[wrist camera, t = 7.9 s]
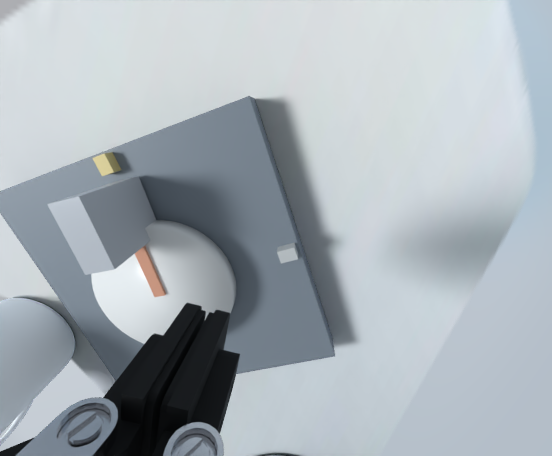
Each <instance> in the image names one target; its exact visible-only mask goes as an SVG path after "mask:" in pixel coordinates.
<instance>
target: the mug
mask: <svg viewBox="0 0 552 456" xmlns="http://www.w3.org/2000/svg"><path fill="white" fill-rule="evenodd" d="M74 350H75V339H74V335H73V332H72V330H71V328H70V326H69V325H68V323H67V322H66V321H65V320H64V319H63V317H62V316H61V315H59V314H58V313H57V312H56V311H54V310H53V309H52V308H50V307H48V306H47V305H45V304H43V303H40V302H38V301H34V300H31V299H26V298H10V299H5V300H2V301H0V434H1V433H2V432H3V431H4V430H5V429H6V428H7V427H8V426H9V425H10V424H11V423H12V422H13V423H12V425H11V427H10V428H9V429H8V431H7V432H6V433H5V434H4V435H3V436H2V437H1V438H0V446H1V444H2V443H3V442H4V441H5V440H6V439H7V438H8V437H9V435H10V434H11V433H12V432H13V431H14V429H15V428H16V427H17V426H18V424H19V423H20V422H21V420H22V419H23V418H24V416H25V415H26V413H27V411H28V410H29V408H30V406H31V404H32V402H33V399H35V398H36V396H37V395H38V394H39V393H40V392H41V391H42V390H43V389H44V388H45V387H46V386H47V385H48V384H49V383H50V382H51V381H52V380H53V379H54V378H55V377H56V376H57V374H59V373H60V371H61V370H62V369H63V368H64V367H65V366H66V365H67V364H68V362H69V361H70V359H71V358H72V356H73V353H74Z"/></svg>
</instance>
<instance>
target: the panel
mask: <svg viewBox="0 0 552 456" xmlns="http://www.w3.org/2000/svg"><path fill="white" fill-rule="evenodd" d="M136 176H139V179H140V181H141V184H142V186H143V189H144V191H145V193H146V196H147V198H148V201H149V203H150V206H151V208H152V210H153V213H154V215H155V218H156V220H167V221H173V222H177V223H181V224H184V225H187V226H190V227H192V228H194V229H196V230H198V231H199V232H201V233H202V234H204V235H205V236H207V237H208V238H209V239H211V240H212V241H213V242H214V243H215V244H216V245H217V246H218V247H219V248H220V249H221V250H222V252H223V253H224V254H225V256H226V257H227V259H228V261H229V263H230V264H231V267H232V269H233V272H234V275H235V279H236V298H235V303H234V305H233V308H232V311H231V313H230V319H229V324H228V329H227V335H226V340H225V345H224V350H226V351H230V352H234V353H238V354H240V358H239V363H238V367H237V372H236V374H239V373H245V372H250V371H256V370H261V369H267V368H272V367H278V366H283V365H289V364H294V363H300V362H305V361H311V360H317V359H322V358H328V357H333V356H335V353H334V346H333V339H332V335H331V332H330V329H329V326H328V323H327V320H326V317H325V314H324V311H323V308H322V304H321V301H320V298H319V295H318V292H317V289H316V286H315V283H314V280H313V277H312V274H311V271H310V268H309V265H308V261H307V258H306V255H305V252H304V249H303V246H302V243H301V240H300V237H299V234H298V231H297V228H296V225H295V222H294V218H293V215H292V212H291V209H290V206H289V203H288V200H287V197H286V194H285V191H284V188H283V185H282V182H281V179H280V175H279V172H278V169H277V166H276V163H275V160H274V157H273V154H272V151H271V148H270V145H269V142H268V139H267V135H266V132H265V129H264V126H263V123H262V120H261V117H260V114H259V111H258V108H257V105H256V102H255V99H254V98H252V97H250V96H248V97H245V98H243V99H240V100H238V101H235V102H232V103H230V104H227V105H224V106H222V107H219V108H217V109H214V110H211V111H209V112H206V113H204V114H201V115H198V116H196V117H193V118H190V119H188V120H185V121H183V122H180V123H177V124H175V125H172V126H170V127H167V128H164V129H162V130H159V131H157V132H154V133H151V134H149V135H146V136H143V137H141V138H138V139H136V140H133V141H130V142H128V143H125V144H123V145H120V146H117V147H115V148H112V149H109V150H107V151H104V152H102V153H99V154H96V155H94V156H91V157H89V158H86V159H83V160H81V161H78V162H75V163H73V164H70V165H68V166H65V167H62V168H60V169H57V170H55V171H52V172H49V173H47V174H44V175H41V176H39V177H36V178H34V179H31V180H28V181H26V182H23V183H21V184H18V185H15V186H13V187H10V188H7V189H5V190H2V191H0V213H1V215H2V216H3V218H4V219H5V221H6V222H7V224H8V225H9V226H10V228H11V229H12V231H13V232H14V234H15V235H16V237H17V238H18V239H19V241H20V242H21V244H22V245H23V247H24V248H25V250H26V251H27V253H28V254H29V255H30V257H31V258H32V260H33V261H34V263H35V264H36V266H37V267H38V268H39V270H40V271H41V273H42V274H43V276H44V277H45V279H46V280H47V282H48V283H49V284H50V286H51V287H52V289H53V290H54V292H55V293H56V295H57V296H58V297H59V299H60V300H61V302H62V303H63V305H64V306H65V308H66V309H67V311H68V312H69V313H70V315H71V316H72V318H73V319H74V321H75V322H76V324H77V325H78V327H79V328H80V329H81V331H82V332H83V334H84V335H85V337H86V338H87V340H88V341H89V342H90V344H91V345H92V347H93V348H94V350H95V351H96V353H97V354H98V356H99V357H100V358H101V360H102V361H103V363H104V364H105V366H106V367H107V369H108V370H109V371H110V373H111V374H112V376H113V377H114V379H115V380H117V379H118V378H119V377H120V375H121V374H122V373H123V371H124V370H125V369H126V367H127V366H128V365H129V364H130V362H131V361H132V360H133V358H134V357H135V356H136V354H137V353H138V352H139V351H140V349H141V348H142V347H143V345H144V344H143V343H141V342H139V341H136V340H135V339H133V338H131V337H129V336H128V335H126V334H125V333H124V332H122V331H121V330H120V329H119V328H117V327H116V326H115V325H114V324H113V323H112V322H111V321H110V320H109V319H108V317H107V316H106V315H105V314H104V312H103V311H102V309H101V307H100V306H99V304H98V302H97V300H96V297H95V294H94V291H93V287H92V278H91V274H88V275H85V274H84V272H83V270H82V268H81V266H80V264H79V262H78V261H77V259H76V257H75V255H74V253H73V251H72V249H71V248H70V246H69V244H68V242H67V240H66V238H65V237H64V235H63V233H62V231H61V229H60V227H59V225H58V224H57V222H56V220H55V218H54V216H53V214H52V212H51V211H50V209H49V207H48V205H47V204H49V203H52V202H55V201H58V200H61V199H64V198H67V197H70V196H73V195H77V194H80V193H83V192H86V191H89V190H92V189H95V188H98V187H101V186H104V185H107V184H110V183H113V182H116V181H120V180H124V179H128V178H132V177H136Z"/></svg>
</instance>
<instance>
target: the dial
mask: <svg viewBox="0 0 552 456" xmlns="http://www.w3.org/2000/svg"><path fill="white" fill-rule="evenodd" d="M47 205H48V207H49V209H50V211H51V212H52V214H53V216H54V218H55V220H56V222H57V224H58V225H59V227H60V229H61V231H62V233H63V235H64V237H65V238H66V240H67V242H68V244H69V246H70V248H71V249H72V251H73V253H74V255H75V257H76V259H77V261H78V262H79V264H80V266H81V268H82V270H83V272H84V274H85V275H88V274H91V278H92V287H93V291H94V294H95V297H96V300H97V302H98V304H99V306H100V307H101V309H102V311H103V312H104V314H105V315H106V316H107V317H108V319H109V320H110V321H111V322H112V323H113V324H114V325H115V326H116V327H117V328H119V329H120V330H121V331H122V332H124V333H125V334H126V335H128V336H129V337H131V338H133V339H135V340H136V341H139V342H141V343H143V344H145V343H146V341H147V340H148V339H149V338H150V336H151V335H152V334H154V333H155V334H159V335H164V334H165V332H166V331H167V329H168V328H169V327H170V325H171V324H172V322H173V321H174V320H175V318H176V317H177V315H178V314H179V313H180V311H181V310H182V308H183V307H184V305H185V304H186V303H191V304H195V305H200V306H202V310H203V311H206V315H205V319H206V317H207V315H208V314H209V312H212V313H214V312H215V310H221V311H225V312H229V313H231V311H232V308H233V305H234V303H235V298H236V279H235V275H234V272H233V269H232V267H231V264H230V263H229V261H228V259H227V257H226V256H225V254H224V253H223V252H222V250H221V249H220V248H219V247H218V246H217V245H216V244H215V243H214V242H213V241H212V240H211V239H209V238H208V237H207V236H205V235H204V234H202V233H201V232H199V231H198V230H196V229H194V228H192V227H190V226H187V225H184V224H181V223H177V222H173V221H167V220H156V218H155V215H154V213H153V210H152V208H151V206H150V203H149V201H148V198H147V196H146V193H145V191H144V189H143V186H142V184H141V181H140V179H139V176H136V177H132V178H128V179H124V180H120V181H116V182H113V183H110V184H107V185H104V186H101V187H98V188H95V189H92V190H89V191H86V192H83V193H80V194H77V195H73V196H70V197H67V198H64V199H61V200H58V201H55V202H52V203H49V204H47Z"/></svg>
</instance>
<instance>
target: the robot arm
mask: <svg viewBox="0 0 552 456" xmlns="http://www.w3.org/2000/svg"><path fill="white" fill-rule="evenodd" d="M205 315H206V311H203V310H202V306H200V305H195V304H191V303H186V304H185V305H184V307H183V308H182V310H181V311H180V313H179V314H178V315H177V317H176V318H175V320H174V321H173V322H172V324H171V325H170V327H169V328H168V329H167V331H166V332H165V334H164V335H159V334H155V333H154V334H152V335H151V336H150V338H149V339H148V340H147V341H146V343H145V344H144V345H143V347H142V348H141V349H140V351H139V352H138V353H137V354H136V356H135V357H134V358H133V360H132V361H131V362H130V364H129V365H128V366H127V367H126V369H125V370H124V371H123V373H122V374H121V375H120V377H119V378H118V379H117V380H116V382H115V383H114V384H113V386H112V387H111V388H110V390H109V391H108V392H107V393H106V395H105V396H104V397H103V398H100V397H99V398H89V399H85V400H82V401H79V402H77V403H75V404H73V405H71V406H70V407H68V408H67V409H66V410H65V411H63V412H62V413H61V414H60V415H59V416H57V417H56V418H55V419H54V420H53V421H52V422H51V423H50V424H49V425H48V426H47V427H46V428H45V429H44V430H42V431H41V432H40V433H39V434H38V435H37V436H36V437H35V438H32V439H30V440H27V441H25V442H23V443H20V444H18V445H15V446H13V447H10V448H8V449H6V450H3V451H1V452H0V456H224V445H223V441H222V438H221V435H220V431H221V428H222V424H223V421H224V417H225V414H226V410H227V406H228V403H229V399H230V396H231V392H232V388H233V384H234V380H235V376H236V372H237V367H238V363H239V358H240V354H238V353H234V352H230V351H226V350H224V345H225V340H226V335H227V329H228V324H229V319H230V313H229V312H225V311H221V310H215V312H214V313H212V312H209V314H208V315H207V317H206V319H205ZM267 456H284V455H267Z"/></svg>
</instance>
